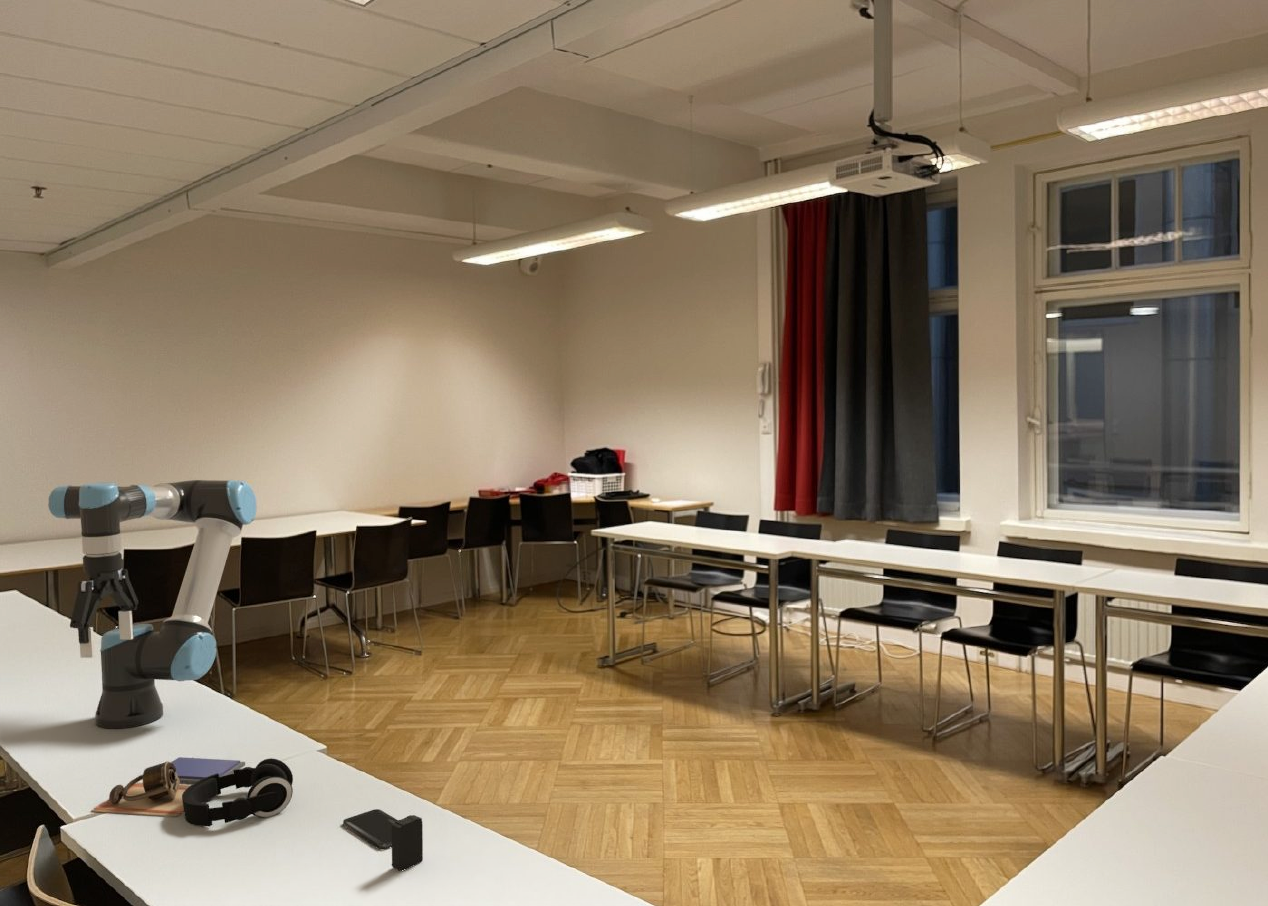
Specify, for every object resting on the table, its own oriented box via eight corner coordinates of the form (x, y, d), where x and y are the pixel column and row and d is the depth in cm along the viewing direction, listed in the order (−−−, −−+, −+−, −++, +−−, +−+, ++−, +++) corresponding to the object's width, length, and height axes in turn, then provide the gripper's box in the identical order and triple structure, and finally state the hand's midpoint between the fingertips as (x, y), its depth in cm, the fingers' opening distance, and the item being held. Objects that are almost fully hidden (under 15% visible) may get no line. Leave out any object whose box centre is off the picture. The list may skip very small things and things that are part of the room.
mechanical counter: (159, 785, 187) (189, 755, 197) (98, 775, 189) (132, 746, 198) (161, 816, 189) (192, 786, 199) (102, 806, 191) (135, 776, 201)
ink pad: (177, 761, 214) (177, 756, 214) (245, 765, 212) (245, 759, 212) (146, 780, 204) (146, 775, 204) (216, 785, 201) (216, 779, 201)
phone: (381, 847, 172) (340, 820, 183) (381, 853, 172) (341, 826, 183) (419, 833, 178) (378, 807, 188) (419, 839, 178) (378, 813, 188)
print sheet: (137, 783, 202) (137, 782, 202) (217, 788, 200) (217, 786, 200) (90, 811, 188) (90, 810, 188) (176, 817, 186) (176, 816, 186)
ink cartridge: (414, 857, 170) (414, 813, 169) (423, 861, 168) (422, 816, 168) (391, 868, 166) (390, 822, 165) (399, 872, 164) (399, 826, 164)
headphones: (288, 778, 184) (173, 804, 178) (294, 818, 185) (180, 845, 179) (291, 747, 201) (186, 769, 195) (296, 783, 202) (192, 807, 196)
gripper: (121, 542, 225) (126, 631, 227) (46, 565, 201) (53, 665, 203) (151, 543, 225) (156, 632, 227) (80, 565, 200) (86, 665, 202)
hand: (107, 648), depth 215 cm, fingers open, 13 cm apart
